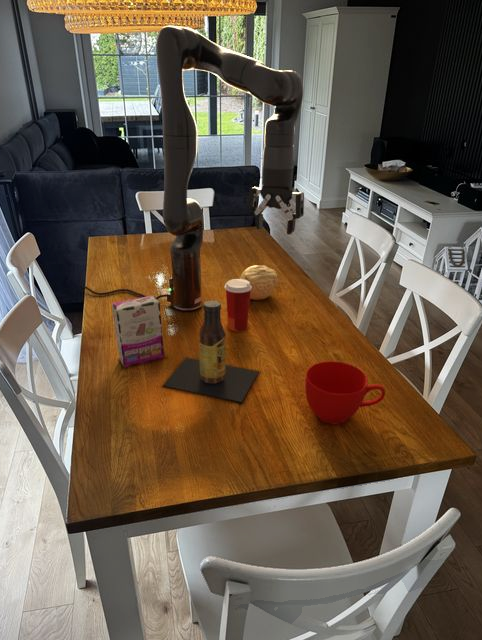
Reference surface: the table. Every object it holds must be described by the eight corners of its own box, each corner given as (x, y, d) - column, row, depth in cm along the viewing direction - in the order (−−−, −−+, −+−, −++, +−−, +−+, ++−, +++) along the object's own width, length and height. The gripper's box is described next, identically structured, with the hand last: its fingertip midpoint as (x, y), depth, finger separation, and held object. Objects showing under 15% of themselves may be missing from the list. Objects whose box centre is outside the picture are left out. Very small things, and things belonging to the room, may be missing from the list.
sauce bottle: (222, 386, 117) (222, 311, 107) (197, 383, 118) (194, 308, 108) (227, 372, 123) (228, 299, 113) (203, 369, 124) (202, 297, 114)
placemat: (162, 386, 117) (162, 385, 117) (186, 358, 129) (185, 357, 129) (241, 403, 112) (241, 402, 112) (258, 372, 123) (258, 371, 123)
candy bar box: (158, 349, 133) (154, 294, 125) (164, 358, 129) (161, 301, 121) (118, 359, 128) (110, 302, 120) (123, 368, 125) (116, 309, 116)
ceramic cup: (382, 439, 101) (390, 399, 96) (300, 429, 104) (304, 390, 99) (377, 402, 112) (384, 365, 107) (303, 394, 115) (307, 358, 110)
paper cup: (253, 323, 147) (255, 280, 140) (246, 334, 141) (247, 289, 134) (229, 319, 149) (229, 276, 142) (220, 330, 143) (220, 286, 136)
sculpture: (249, 305, 158) (250, 274, 153) (234, 292, 168) (234, 262, 162) (280, 300, 162) (282, 269, 157) (263, 287, 172) (265, 257, 166)
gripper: (244, 164, 119) (243, 230, 127) (299, 170, 113) (294, 239, 121) (258, 160, 124) (256, 224, 132) (311, 165, 118) (305, 231, 126)
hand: (274, 231), depth 126 cm, fingers open, 8 cm apart
